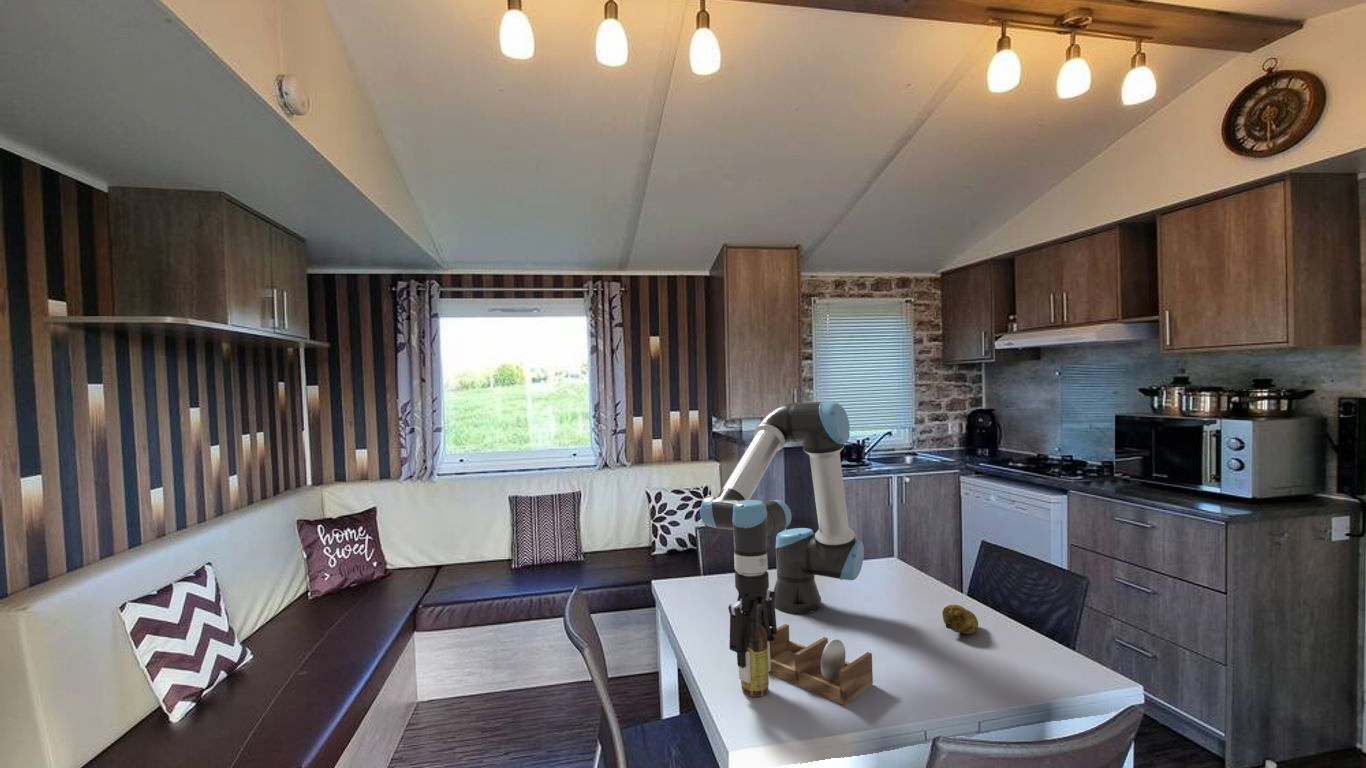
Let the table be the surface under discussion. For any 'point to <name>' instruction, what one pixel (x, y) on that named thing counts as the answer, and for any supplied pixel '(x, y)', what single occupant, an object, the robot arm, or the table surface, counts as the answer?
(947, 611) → the potato
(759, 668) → the sauce bottle
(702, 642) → the table surface
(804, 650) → the dish rack
